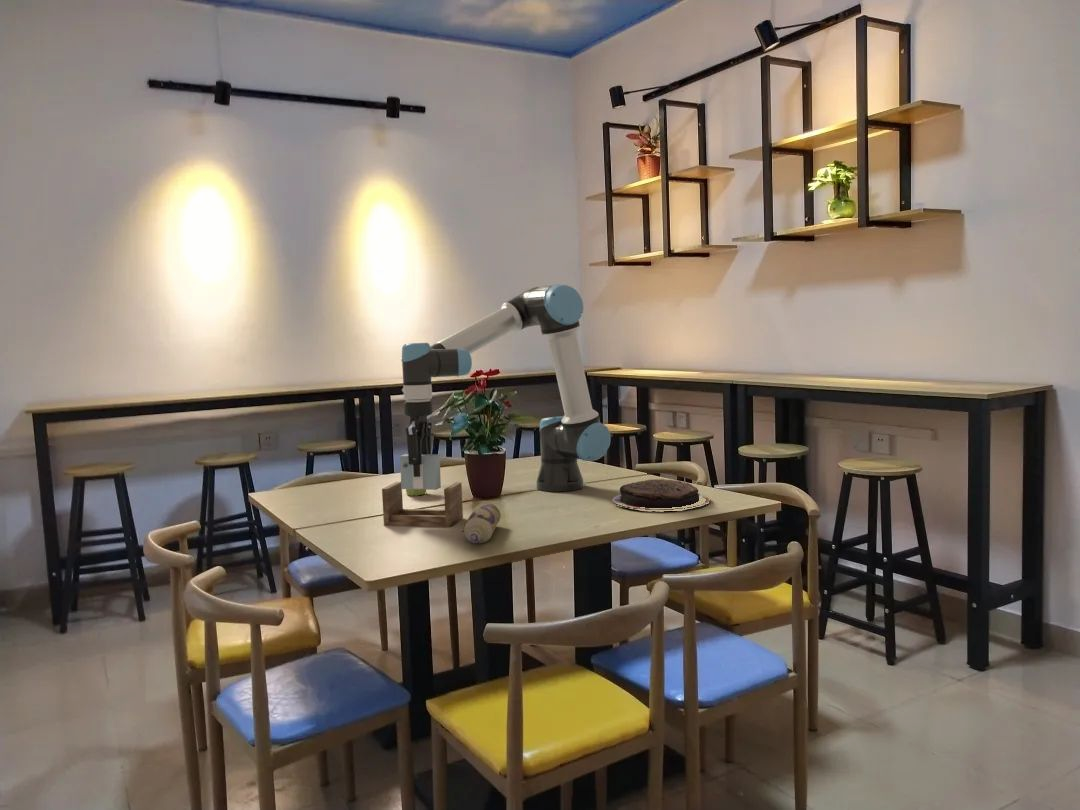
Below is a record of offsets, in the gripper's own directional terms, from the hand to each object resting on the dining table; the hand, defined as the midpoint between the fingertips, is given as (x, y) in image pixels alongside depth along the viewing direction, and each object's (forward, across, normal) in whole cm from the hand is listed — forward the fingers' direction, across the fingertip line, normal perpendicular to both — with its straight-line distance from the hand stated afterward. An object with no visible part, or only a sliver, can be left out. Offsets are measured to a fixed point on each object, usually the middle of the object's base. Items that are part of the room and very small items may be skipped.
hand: (421, 486), depth 227 cm
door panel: (0, 0, 0) cm, 0 cm away
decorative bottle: (+10, +15, +20) cm, 27 cm away
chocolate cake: (+10, -29, +62) cm, 69 cm away
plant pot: (+10, -37, -16) cm, 42 cm away
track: (+10, 0, 0) cm, 10 cm away
